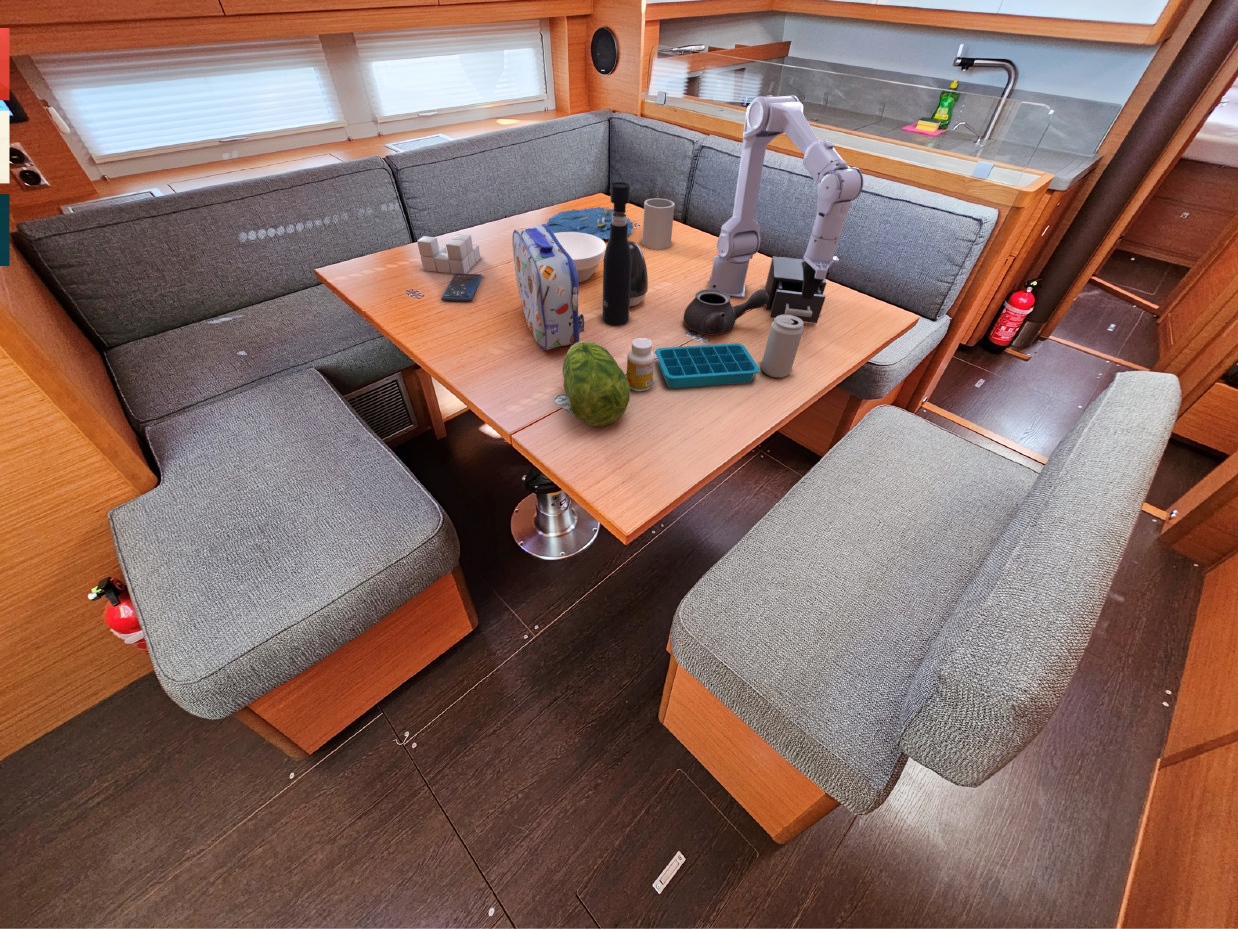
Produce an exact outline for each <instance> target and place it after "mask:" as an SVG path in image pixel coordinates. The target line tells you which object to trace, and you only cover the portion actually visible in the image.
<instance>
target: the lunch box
mask: <svg viewBox="0 0 1238 929" xmlns="http://www.w3.org/2000/svg"><path fill="white" fill-rule="evenodd" d="M512 253H513V265H514V266H513V267H514V273H515V279H516V280H515V281H516V284H517V290H518V294H519V298H520V302H521V306H522V310H523V313H524V317H525V322H526V325H527V327H528V329H529V331H530V333H531V334H532V336H533V338H534V340H535V341H536V344H537V345H538V347H539V348H540V349H541V350H543V351H549V350H552V349H555V348H558V347H564V346H569V345H571V346H572V345H574V344H575V343H577V342H580V334H581V333H584V332H585V317H584V314H583V313H582V314H580V315H579V292H580V291H579V284H580V282H578V272H577V269H576V266H575V263H574V261H573V259H572V258H571V257H570V255H569V254H568V253H567V252H566V251H565V249H564V248H563V247H562V245H561V244H560V243H559V241H558V239H557V238H556V236H555V235H554V233H553V232H552V230H551V229H550V228H549V226H548V225H547V223H543V224H541V225H540V224H539V225H536V226H535V225H534V226H530V227H522V228H521V227H520V228H514V229H513V232H512Z"/></svg>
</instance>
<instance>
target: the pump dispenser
mask: <svg viewBox="0 0 1238 929" xmlns="http://www.w3.org/2000/svg"><path fill="white" fill-rule="evenodd" d="M628 243H629V246H630V251H631V258H632V268H631V286H630V304H629V307H633V306H634V307H635V306H637V305H639V304H640V303H641V302H642V301H643V300H644V299H645V297H646V294H647V293H648V290H649V277H648V276H649V275H648V267H647V263H646V259H645V255H644V253H643V251H642V249H641V246H640V245H639V244H638V243H636V242H635V241H632V240H628Z"/></svg>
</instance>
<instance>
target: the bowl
mask: <svg viewBox="0 0 1238 929" xmlns="http://www.w3.org/2000/svg"><path fill="white" fill-rule="evenodd" d="M554 235H555V236H556V238H557V239H558V241H559V243H560V244H561V245H562V247H563V248H564V249H565V251H566V252H567V253H568V254H569V255H570V257H571V258H572V259H573V261H574V263H575V266H576V269H577V272H578V282H579V283H582V282H586V281H587V280H588V279H589V278H591V276H592V275H593V274H594V273H595V272H596V270H597V268H598V267H599V266H600V264H601V263H602V260H603V259H604V255H605V250H606V247H607V244H606V242H605V241H604V239H600V238H598V237H596V236H593V235H590V234H585V233H578V232H563V231H561V232H560V233H554Z"/></svg>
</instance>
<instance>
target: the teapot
mask: <svg viewBox="0 0 1238 929" xmlns="http://www.w3.org/2000/svg"><path fill="white" fill-rule="evenodd" d="M731 300H732V298H731V296H729V295H728V294H727V293H725V292H723V291H720V290H715V289H709V288H706V289H701V290H699V291H697V292H696V293H695V297H694V298H693V299H692V300H691V301H690V303H689V304H688V305H687V306H686V308H685V310H684V313H683V322H684V325H685V326H686V327H687V328H688V329H690V330H691V331H694V332H696V333H698V334H704V335H708V336H709V335H710V336H712V335H713V336H715V335H722V334H723V335H724V334H727V333H728V332H731V331H732V330H733V329H734V327H735V324H736V321H737V320H738V319H739V318H740V317H742V316H743V315H744V314H745V313H746V312H747V311H750V310H756V309H761V308H762V307H764V306H766V304H767V303H768V301H769V295H768V294H767V292H766V291H765V289H757V290H755V291H754V292H753V293H752V294H751V295H750V296H749V297H748V299H747V300H746V301H744V302H743V303H741V304H736V305H734V306H733V305H732V304H731Z"/></svg>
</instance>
